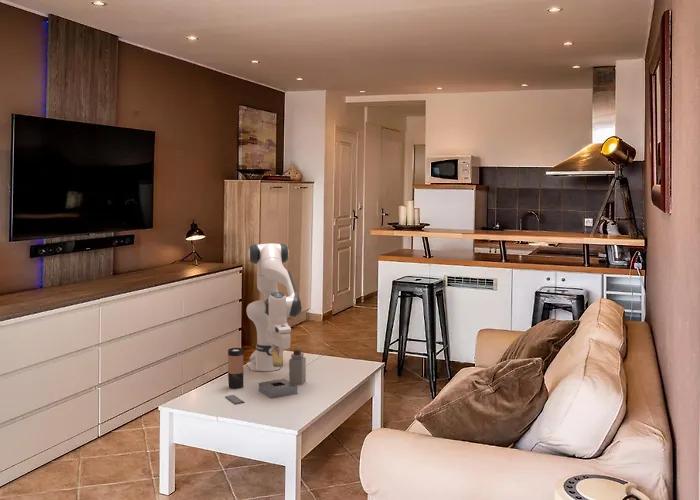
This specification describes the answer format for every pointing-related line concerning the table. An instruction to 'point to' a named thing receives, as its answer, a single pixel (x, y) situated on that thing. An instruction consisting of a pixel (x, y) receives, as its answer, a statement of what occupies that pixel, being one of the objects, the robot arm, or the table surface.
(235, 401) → the mat
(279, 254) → the robot arm
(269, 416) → the table surface
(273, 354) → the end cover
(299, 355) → the grey square bottle
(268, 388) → the housing
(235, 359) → the travel mug
